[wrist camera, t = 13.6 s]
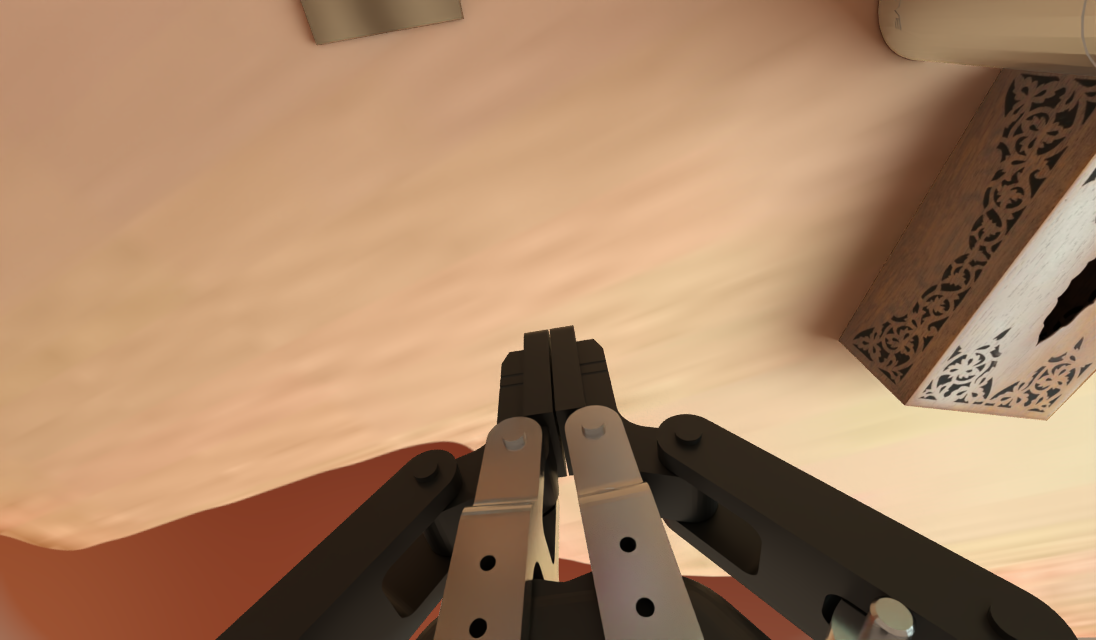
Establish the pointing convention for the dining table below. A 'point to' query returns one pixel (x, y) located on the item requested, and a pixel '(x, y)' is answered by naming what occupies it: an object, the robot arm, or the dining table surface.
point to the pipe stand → (374, 16)
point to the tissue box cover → (996, 262)
